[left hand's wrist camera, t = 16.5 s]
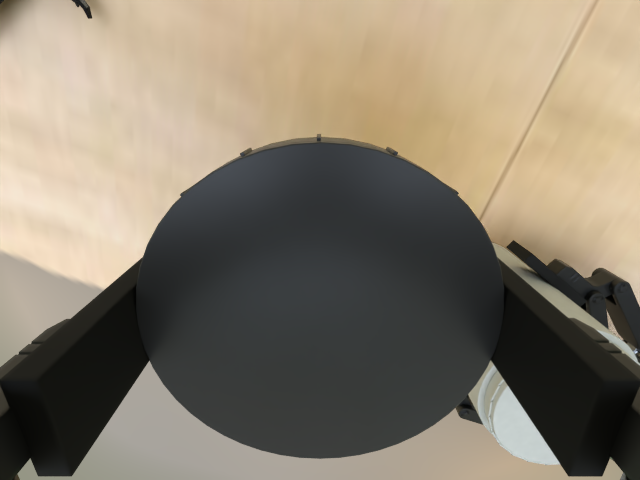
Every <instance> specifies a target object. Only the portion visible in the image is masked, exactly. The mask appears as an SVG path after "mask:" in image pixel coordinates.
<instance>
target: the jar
mask: <svg viewBox="0 0 640 480" xmlns="http://www.w3.org/2000/svg"><path fill="white" fill-rule="evenodd" d="M492 244H493V246H494V249H495V252H496V255H497V257H498V258H499V259H500V260H501V261H502V262H504V263H505V264H506V265H507V266H508V267H509V268H511V269H512V270H513V271H514V272H515V273H516V274H518V275H519V276H520V277H521V278H522V279H523V280H525V281H526V282H527V283H528V284H529V285H531V286H532V287H533V288H534V289H535V290H536V291H538V292H539V293H540V294H541V295H542V296H543V297H545V298H546V299H547V300H548V301H549V302H550V303H552V304H553V305H554V306H555V307H556V308H557V309H559V310H560V311H561V312H562V313H563V314H564V315H566V316H567V317H568V318H575V319H577V320H579V321H581V322H583V323H585V324H587V325H589V326H591V327H593V328H594V329H596V330H597V331H598V332H599V333H600V334H602V335H603V336H604V337H605V338H607V339H608V340H609V343H613V344H614V345H615V346H616V347H618V348H619V349H620V350H621V351H622V353H623V354H626V355H628V356H629V357H630V358H631V359H632V360H634V361H635V362H636V363H637V364H639V365H640V363H639V362H638V360H637V358H636V356H635V354H634V352H633V351H632V350H631V348H630V347H629V346H628V345H627V344H626V343H625V342H623V341H622V340H621V339H620V338H618V337H617V336H616V335H615V334H613V333H612V332H611V331H610V330H608V329H607V328H606V327H605V326H603V325H602V324H601V323H599V322H598V321H597V320H596V319H594V318H593V317H592V316H591V315H589V314H588V313H587V312H586V311H584V310H583V309H582V308H580V307H579V306H578V305H577V304H575V303H574V302H573V301H572V300H570V299H569V298H568V297H566V296H565V295H564V294H563V293H561V292H560V291H559V290H558V289H556V288H555V287H554V286H553V285H551V284H550V283H549V282H547V281H546V280H545V279H544V278H542V277H541V276H540V275H539V274H537V273H536V272H535V271H533V270H532V269H531V268H530V267H528V266H527V265H526V264H525V263H523V262H522V261H521V260H520V259H518V258H517V257H516V256H514V255H513V254H512V253H511V252H509V251H508V250H507V249H505V248H504V247H502V246H500V245H498V244H496V243H492ZM468 395H469V397H470V399H471V401H472V403H473V405H474V407H475V409H476V411H477V413H478V415H479V417H480V419H481V421H482V423H483V425H484V426H485V427H486V429H487V430H488V431H489V432H490V433H491V434H492V435H493V436H494V437H495V438H496V440H497V442H498V443H499V445H500V446H502V447H503V448H504V449H506V450H507V451H508V452H510V453H511V455H514V456H516V457H519V458H521V459H523V460H526V461H527V462H534V463H539V464H545V465H552V464H560V463H559V461H558V460H557V458H556V457H555V455H554V454H553V452H552V451H551V449H550V448H549V446H548V445H547V443H546V442H545V440H544V439H543V437H542V436H541V434H540V433H539V431H538V430H537V428H536V427H535V426H534V424H533V423H532V421H531V420H530V418H529V417H528V415H527V414H526V412H525V411H524V409H523V408H522V406H521V405H520V403H519V402H518V400H517V399H516V397H515V396H514V394H513V393H512V391H511V390H510V388H509V387H508V385H507V384H506V382H505V381H504V379H503V378H502V376H501V375H500V373H499V372H498V370H497V369H496V367H495V366H494V364H493V363H492V361H491V360H490V363H489V365H488V367H487V369H486V370H485V372H484V373H483V375H482V376H481V378H480V380H479V381H478V383H477V384H476V386H475V387H474V388H473V389H472V390H471V392H470V393H469V394H468Z"/></svg>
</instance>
